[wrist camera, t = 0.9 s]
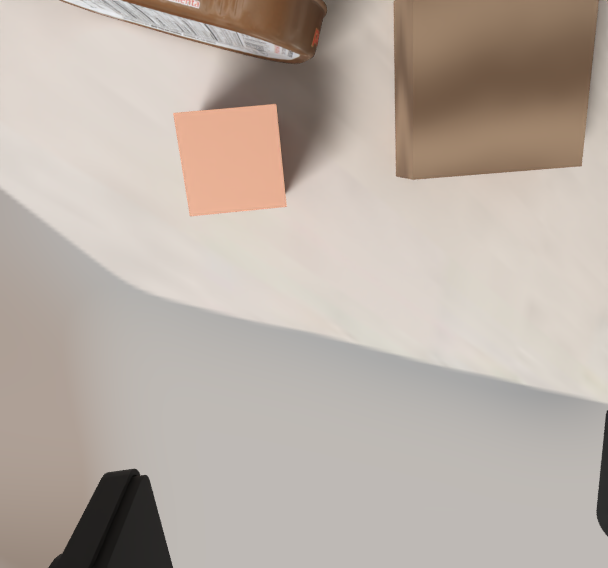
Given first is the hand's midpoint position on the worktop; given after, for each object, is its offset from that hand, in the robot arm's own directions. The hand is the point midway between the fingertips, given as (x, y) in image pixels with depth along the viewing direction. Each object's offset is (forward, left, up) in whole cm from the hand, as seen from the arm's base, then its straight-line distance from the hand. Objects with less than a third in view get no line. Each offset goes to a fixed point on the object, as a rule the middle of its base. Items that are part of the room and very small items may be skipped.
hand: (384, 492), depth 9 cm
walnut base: (-9, +11, -22) cm, 27 cm away
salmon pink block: (-6, -4, -22) cm, 23 cm away
